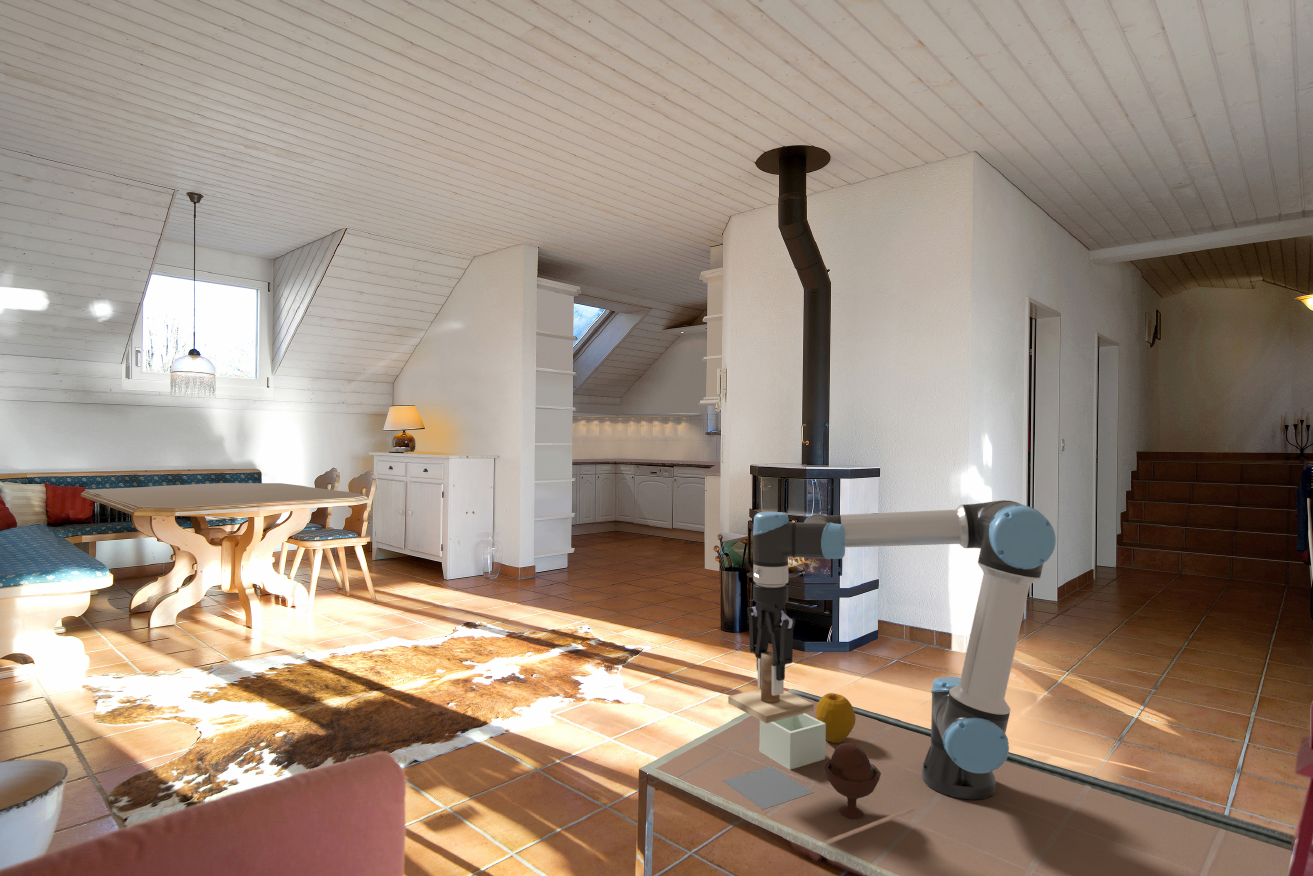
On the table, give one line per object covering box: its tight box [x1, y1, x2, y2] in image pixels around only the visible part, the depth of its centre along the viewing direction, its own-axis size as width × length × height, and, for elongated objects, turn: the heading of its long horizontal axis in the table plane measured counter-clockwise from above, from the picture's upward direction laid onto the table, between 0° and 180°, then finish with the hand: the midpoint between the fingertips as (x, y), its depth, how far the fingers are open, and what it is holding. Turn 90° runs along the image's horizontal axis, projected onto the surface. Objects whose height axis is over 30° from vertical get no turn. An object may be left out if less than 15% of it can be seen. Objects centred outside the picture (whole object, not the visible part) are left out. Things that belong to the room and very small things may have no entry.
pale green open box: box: [758, 713, 827, 771], centre depth 175 cm, size 11×11×9 cm
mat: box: [722, 765, 815, 810], centre depth 160 cm, size 14×14×1 cm
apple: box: [815, 692, 856, 744], centre depth 185 cm, size 10×10×12 cm
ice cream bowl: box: [823, 742, 882, 821], centre depth 149 cm, size 11×11×15 cm
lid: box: [727, 651, 814, 723], centre depth 159 cm, size 13×13×12 cm
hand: (770, 690), depth 159 cm, fingers closed on lid, 4 cm apart
